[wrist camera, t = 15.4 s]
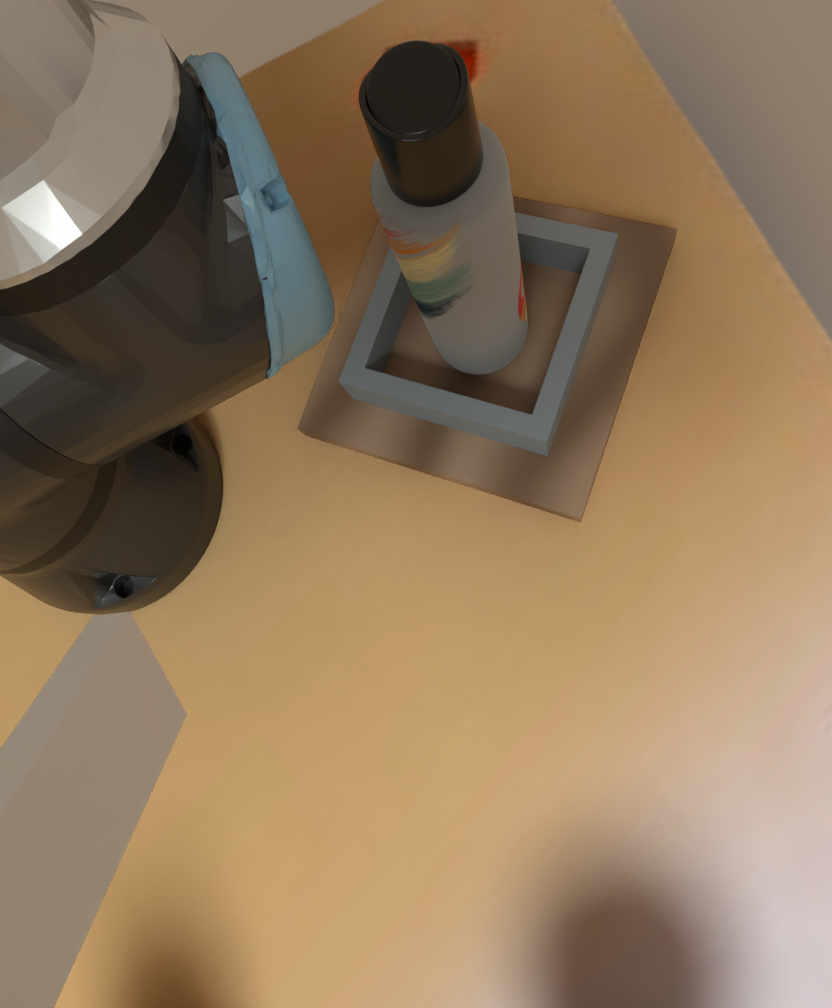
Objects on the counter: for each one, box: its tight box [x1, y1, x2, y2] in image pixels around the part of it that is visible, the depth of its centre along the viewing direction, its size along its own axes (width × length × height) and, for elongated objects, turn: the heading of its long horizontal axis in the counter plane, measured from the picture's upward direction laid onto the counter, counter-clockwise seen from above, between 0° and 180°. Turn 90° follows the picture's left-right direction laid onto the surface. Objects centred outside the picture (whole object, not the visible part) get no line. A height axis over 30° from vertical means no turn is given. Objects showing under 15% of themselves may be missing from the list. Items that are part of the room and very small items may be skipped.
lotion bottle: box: [359, 41, 528, 375], centre depth 33 cm, size 6×6×20 cm
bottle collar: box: [338, 212, 618, 456], centre depth 42 cm, size 12×12×3 cm
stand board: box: [297, 197, 677, 522], centre depth 44 cm, size 18×18×2 cm
